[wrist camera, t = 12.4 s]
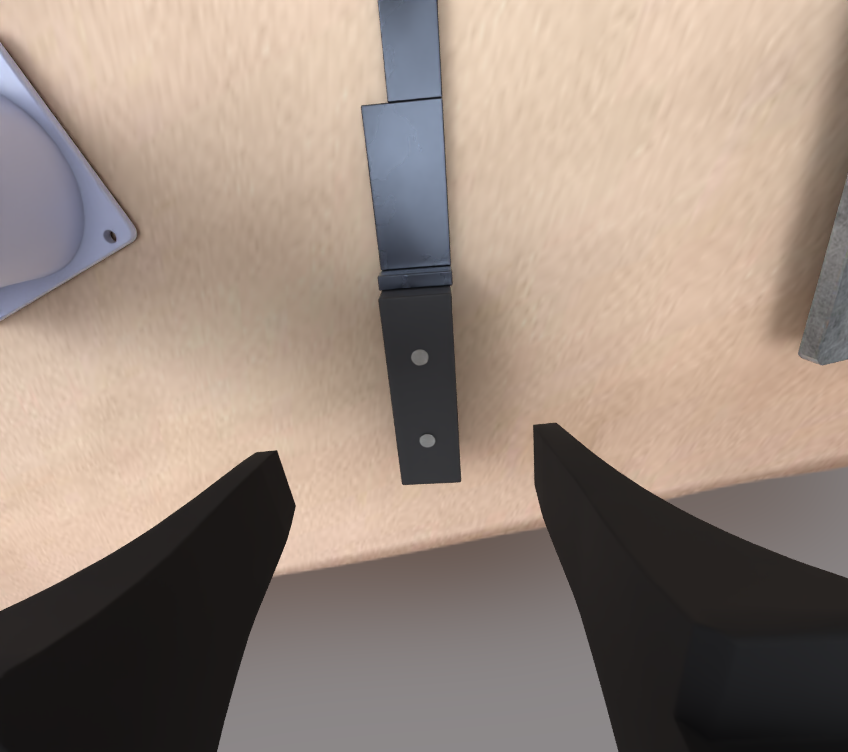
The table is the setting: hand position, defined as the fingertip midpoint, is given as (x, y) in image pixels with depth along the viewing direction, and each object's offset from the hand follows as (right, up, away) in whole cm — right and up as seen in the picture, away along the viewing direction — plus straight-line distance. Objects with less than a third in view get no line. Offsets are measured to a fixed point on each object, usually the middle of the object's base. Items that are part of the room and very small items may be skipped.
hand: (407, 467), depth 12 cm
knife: (0, +7, +6) cm, 10 cm away
